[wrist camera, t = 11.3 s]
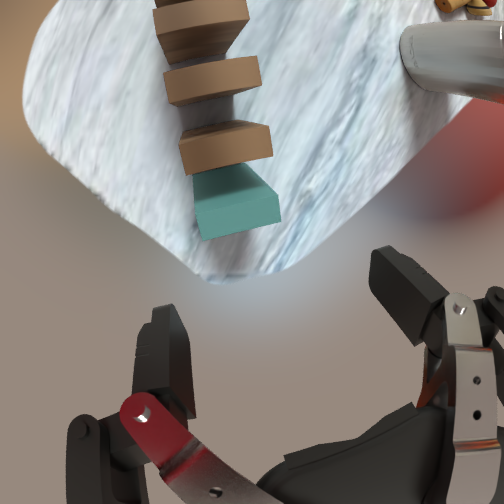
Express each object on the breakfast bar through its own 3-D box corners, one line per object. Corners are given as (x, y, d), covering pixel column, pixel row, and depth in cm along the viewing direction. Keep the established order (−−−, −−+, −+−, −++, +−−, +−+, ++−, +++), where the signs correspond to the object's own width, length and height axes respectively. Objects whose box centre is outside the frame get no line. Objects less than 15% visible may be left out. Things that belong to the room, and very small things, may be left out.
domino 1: (222, 36, 18) (244, -6, 9) (225, 53, 19) (249, 19, 10) (166, 47, 17) (152, 9, 9) (169, 64, 18) (156, 34, 10)
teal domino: (245, 162, 24) (278, 194, 16) (248, 180, 25) (281, 221, 17) (192, 174, 24) (195, 214, 15) (196, 192, 25) (202, 241, 16)
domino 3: (237, 119, 22) (268, 125, 14) (241, 138, 23) (273, 156, 15) (182, 131, 22) (178, 144, 13) (187, 150, 23) (186, 175, 14)
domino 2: (230, 76, 20) (256, 55, 12) (233, 94, 21) (262, 85, 12) (173, 88, 19) (162, 72, 11) (177, 106, 20) (169, 103, 12)
